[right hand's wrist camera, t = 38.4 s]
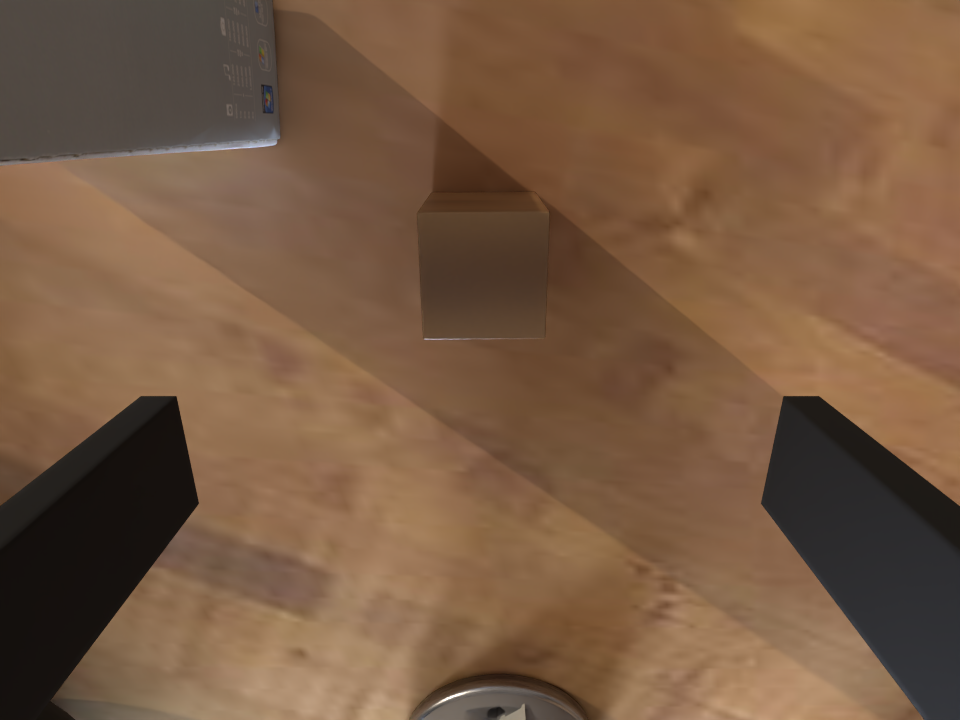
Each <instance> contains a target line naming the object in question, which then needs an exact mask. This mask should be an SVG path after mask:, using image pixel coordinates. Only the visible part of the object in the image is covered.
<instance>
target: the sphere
mask: <svg viewBox="0 0 960 720" xmlns="http://www.w3.org/2000/svg"><path fill="white" fill-rule="evenodd" d="M36 720H75V719H74V718H73V717H71V716H70V715H69V714H68V713H67V712H65V711H64V710H62V709H61V708H59V707H58V706H56V705H55V704H53V703H52V702H50V701H49V703H48V704H47V705H46V707H45V708H44V709H43V711H42V712H41V713H40V715H39V716H38V717H37V719H36Z"/></svg>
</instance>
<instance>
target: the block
mask: <svg viewBox="0 0 960 720" xmlns="http://www.w3.org/2000/svg"><path fill="white" fill-rule="evenodd" d="M549 222H550V212H549V210H548V209H547V208H546V206H545V205H544V203H543V202H542V201H541V199H540V198H539V197H538V195H537V194H536V192H433V193H431V194H430V195H429V197H428V198H427V200H426V201H425V203H424V204H423V205H422V207H421V208H420V210H419V211H418V212H417V225H418V246H419V266H420V287H421V308H422V328H423V339H425V340H436V339H544V338H545V331H546V304H547V277H548V249H549Z"/></svg>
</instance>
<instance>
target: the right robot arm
mask: <svg viewBox="0 0 960 720" xmlns="http://www.w3.org/2000/svg"><path fill="white" fill-rule="evenodd" d="M198 504H199V502H198V497H197V492H196V487H195V482H194V478H193V473H192V468H191V463H190V459H189V454H188V449H187V444H186V440H185V435H184V430H183V425H182V420H181V416H180V411H179V406H178V401H177V397H176V396H141V397H139V398H138V399H137V400H136V401H134V402H133V403H132V404H131V405H129V406H128V407H127V408H125V409H124V410H123V411H122V412H120V413H119V414H118V415H116V416H115V417H114V418H113V419H111V420H110V421H109V422H107V423H106V424H105V425H104V426H102V427H101V428H100V429H99V430H97V431H96V432H95V433H93V434H92V435H91V436H90V437H88V438H87V439H86V440H84V441H83V442H82V443H81V444H79V445H78V446H77V447H75V448H74V449H73V450H72V451H70V452H69V453H68V454H67V455H65V456H64V457H63V458H61V459H60V460H59V461H58V462H56V463H55V464H54V465H52V466H51V467H50V468H49V469H47V470H46V471H45V472H43V473H42V474H41V475H40V476H38V477H37V478H36V479H35V480H33V481H32V482H31V483H29V484H28V485H27V486H26V487H24V488H23V489H22V490H20V491H19V492H18V493H17V494H15V495H14V496H13V497H11V498H10V499H9V500H8V501H6V502H5V503H4V504H3V505H1V506H0V720H36V719H37V717H38V716H39V715H40V713H41V712H42V711H43V709H44V708H45V707H46V705H47V704H48V703H49V701H50V700H51V699H52V697H53V696H54V695H55V693H56V692H57V691H58V689H59V688H60V687H61V685H62V684H63V683H64V681H65V680H66V679H67V678H68V676H69V675H70V674H71V672H72V671H73V670H74V668H75V667H76V666H77V664H78V663H79V662H80V660H81V659H82V658H83V656H84V655H85V654H86V652H87V651H88V650H89V648H90V647H91V646H92V644H93V643H94V642H95V640H96V639H97V638H98V636H99V635H100V634H101V633H102V631H103V630H104V629H105V627H106V626H107V625H108V623H109V622H110V621H111V619H112V618H113V617H114V615H115V614H116V613H117V611H118V610H119V609H120V607H121V606H122V605H123V603H124V602H125V601H126V599H127V598H128V597H129V595H130V594H131V593H132V591H133V590H134V589H135V588H136V586H137V585H138V584H139V582H140V581H141V580H142V578H143V577H144V576H145V574H146V573H147V572H148V570H149V569H150V568H151V566H152V565H153V564H154V562H155V561H156V560H157V558H158V557H159V556H160V554H161V553H162V552H163V550H164V549H165V548H166V546H167V545H168V544H169V542H170V541H171V540H172V539H173V537H174V536H175V535H176V533H177V532H178V531H179V529H180V528H181V527H182V525H183V524H184V523H185V521H186V520H187V519H188V517H189V516H190V515H191V513H192V512H193V511H194V509H195V508H196V507H197V505H198ZM761 504H762V505H763V507H764V508H765V509H766V511H767V512H768V513H769V515H770V516H771V517H772V519H773V520H774V521H775V523H776V524H777V525H778V527H779V528H780V529H781V531H782V532H783V533H784V535H785V536H786V537H787V539H788V540H789V541H790V542H791V544H792V545H793V546H794V548H795V549H796V550H797V552H798V553H799V554H800V556H801V557H802V558H803V560H804V561H805V562H806V564H807V565H808V566H809V568H810V569H811V570H812V572H813V573H814V574H815V576H816V577H817V578H818V580H819V581H820V582H821V584H822V585H823V586H824V588H825V589H826V590H827V591H828V593H829V594H830V595H831V597H832V598H833V599H834V601H835V602H836V603H837V605H838V606H839V607H840V609H841V610H842V611H843V613H844V614H845V615H846V617H847V618H848V619H849V621H850V622H851V623H852V625H853V626H854V627H855V629H856V630H857V631H858V633H859V634H860V635H861V636H862V638H863V639H864V640H865V642H866V643H867V644H868V646H869V647H870V648H871V650H872V651H873V652H874V654H875V655H876V656H877V658H878V659H879V660H880V662H881V663H882V664H883V666H884V667H885V668H886V670H887V671H888V672H889V674H890V675H891V676H892V678H893V679H894V680H895V681H896V683H897V684H898V685H899V687H900V688H901V689H902V691H903V692H904V693H905V695H906V696H907V697H908V699H909V700H910V701H911V703H912V704H913V705H914V707H915V708H916V709H917V711H918V712H919V713H920V715H921V716H922V717H923V719H924V720H960V506H959V505H957V504H956V503H955V502H954V501H952V500H951V499H950V498H949V497H947V496H946V495H945V494H943V493H942V492H941V491H940V490H938V489H937V488H936V487H934V486H933V485H932V484H931V483H929V482H928V481H927V480H925V479H924V478H923V477H922V476H920V475H919V474H918V473H917V472H915V471H914V470H913V469H911V468H910V467H909V466H908V465H906V464H905V463H904V462H902V461H901V460H900V459H899V458H897V457H896V456H895V455H893V454H892V453H891V452H890V451H888V450H887V449H886V448H885V447H883V446H882V445H881V444H879V443H878V442H877V441H876V440H874V439H873V438H872V437H870V436H869V435H868V434H867V433H865V432H864V431H863V430H861V429H860V428H859V427H858V426H856V425H855V424H854V423H853V422H851V421H850V420H849V419H847V418H846V417H845V416H844V415H842V414H841V413H840V412H838V411H837V410H836V409H835V408H833V407H832V406H831V405H829V404H828V403H827V402H826V401H824V400H823V399H822V398H821V397H819V396H784V397H783V401H782V406H781V411H780V416H779V420H778V425H777V430H776V435H775V440H774V444H773V449H772V454H771V459H770V463H769V468H768V473H767V478H766V482H765V487H764V492H763V497H762V502H761ZM409 720H588V718H587V716H586V714H585V712H584V711H583V709H582V708H581V707H580V706H579V704H578V703H577V702H576V701H575V700H574V699H573V698H571V697H570V696H569V695H567V694H566V693H565V692H563V691H562V690H560V689H558V688H556V687H554V686H552V685H550V684H548V683H545V682H543V681H540V680H536V679H533V678H529V677H524V676H518V675H508V674H491V675H481V676H474V677H469V678H465V679H462V680H458V681H456V682H453V683H450V684H448V685H446V686H444V687H442V688H440V689H438V690H436V691H435V692H433V693H432V694H430V695H429V696H428V697H427V698H425V699H424V700H423V701H422V702H421V703H420V704H419V705H418V706H417V708H416V709H415V710H414V712H413V713H412V715H411V717H410V719H409Z"/></svg>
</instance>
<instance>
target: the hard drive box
mask: <svg viewBox="0 0 960 720" xmlns="http://www.w3.org/2000/svg"><path fill="white" fill-rule="evenodd" d="M277 139H280V118H279V97H278V80H277V65H276V48H275V31H274V16H273V1H272V0H0V166H1V165H13V164H26V163H41V162H55V161H64V160H76V159H90V158H105V157H119V156H134V155H148V154H163V153H178V152H193V151H209V150H225V149H237V148H253V147H264V146H273V145H276V144H277Z"/></svg>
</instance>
